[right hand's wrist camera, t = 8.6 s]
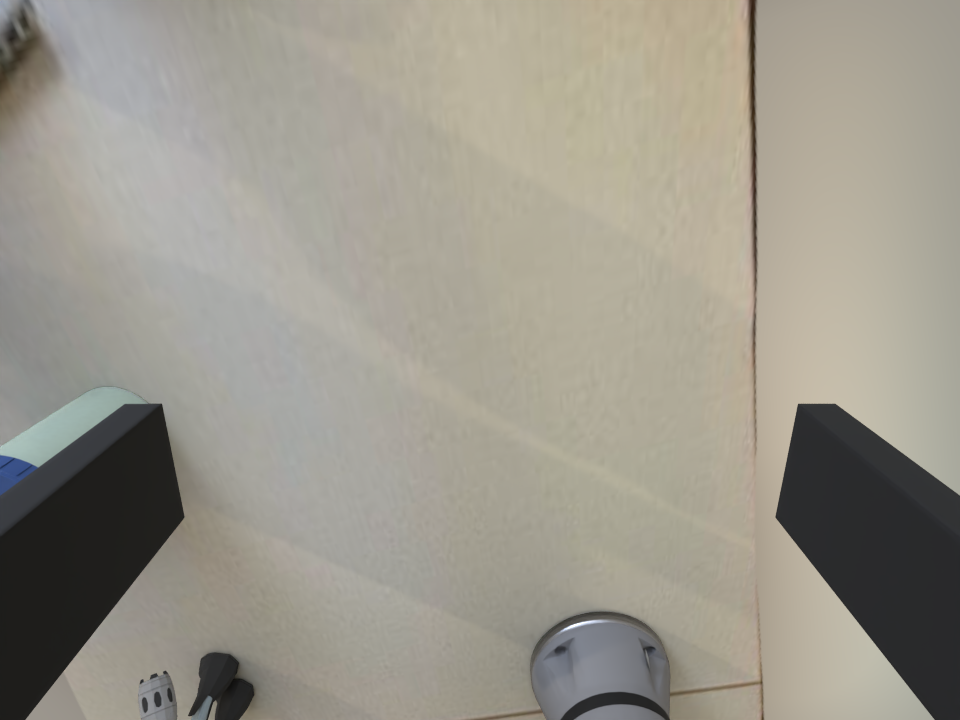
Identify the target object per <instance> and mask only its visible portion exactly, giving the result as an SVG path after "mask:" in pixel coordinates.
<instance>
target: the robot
mask: <svg viewBox="0 0 960 720" xmlns="http://www.w3.org/2000/svg"><path fill="white" fill-rule="evenodd" d="M238 664H239V663H238V662H237V661H236V660H235V659H234V658H233V657H232V656H231V655H228V654H221V653H210V654H207V655H206V656H204V657H203V658H202V659H201V662H200V668H199V676H200V678H201V679H200V683H199V688H198V693H197V697H196V700H195V702H194V704H193V706H192V708H191V710H190V713H189V715H188V716H192V715H193V716H192V719H191V720H208V717H209V714H210V711H211V708H212V704H213V702H214V701H215V700H216V701H217V707H216V713H215V720H239V719H240V718H241V716H242V715H243V714H244V712H245V711H246V709H247V708H248V706H249V704H250V702H251V700H252V698H253V696H254V691H253V686H252V685H251V684H249V683H247V682H245V681H243V680H241V679H239V680H233V679H234V676H235V674H236V673H237V669H238ZM163 673H164V675H161V676H158V675H157V673H156V674H153V675H151V678H150V680H148V681H146V682H144V681H143V679H142V680H141V681H140V685H139V693H138V701H139V708H140V715H141V719H142V720H177V716H178V715H177V702H176V697H175V691H174V687H173V684H172V680H171V678H170V676H169V674H168V673H167V672H166V671H164V672H163Z"/></svg>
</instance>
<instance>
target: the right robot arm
mask: <svg viewBox="0 0 960 720" xmlns="http://www.w3.org/2000/svg"><path fill="white" fill-rule="evenodd" d="M183 519H184V512H183V507H182V502H181V497H180V492H179V487H178V482H177V477H176V472H175V467H174V462H173V457H172V452H171V447H170V442H169V437H168V432H167V427H166V422H165V417H164V412H163V407H162V404H124V405H123V406H121V407H120V408H118V409H117V410H116V411H114V412H113V413H112V414H110V415H109V416H108V417H106V418H105V419H104V420H102V421H101V422H99V423H98V424H97V425H95V426H94V427H93V428H91V429H90V430H89V431H87V432H86V433H85V434H83V435H82V436H80V437H79V438H78V439H76V440H75V441H74V442H72V443H71V444H70V445H68V446H67V447H66V448H64V449H63V450H61V451H60V452H59V453H57V454H56V455H55V456H53V457H52V458H51V459H49V460H48V461H47V462H45V463H44V464H42V465H41V466H40V467H38V468H37V469H36V470H34V471H33V472H32V473H30V474H29V475H28V476H26V477H25V478H23V479H22V480H21V481H19V482H18V483H17V484H15V485H14V486H13V487H11V488H10V489H9V490H7V491H6V492H4V493H3V494H2V495H0V720H25V719H26V718H27V717H28V716H29V714H30V713H31V712H32V710H33V709H34V708H35V707H36V705H37V704H38V703H39V702H40V700H41V699H42V698H43V696H44V695H45V694H46V693H47V691H48V690H49V689H50V688H51V686H52V685H53V684H54V682H55V681H56V680H57V679H58V677H59V676H60V675H61V674H62V672H63V671H64V670H65V669H66V667H67V666H68V665H69V663H70V662H71V661H72V660H73V658H74V657H75V656H76V655H77V653H78V652H79V651H80V649H81V648H82V647H83V646H84V644H85V643H86V642H87V641H88V639H89V638H90V637H91V636H92V634H93V633H94V632H95V630H96V629H97V628H98V627H99V625H100V624H101V623H102V622H103V620H104V619H105V618H106V616H107V615H108V614H109V613H110V611H111V610H112V609H113V608H114V606H115V605H116V604H117V602H118V601H119V600H120V599H121V597H122V596H123V595H124V594H125V592H126V591H127V590H128V589H129V587H130V586H131V585H132V583H133V582H134V581H135V580H136V578H137V577H138V576H139V575H140V573H141V572H142V571H143V569H144V568H145V567H146V566H147V564H148V563H149V562H150V561H151V559H152V558H153V557H154V555H155V554H156V553H157V552H158V550H159V549H160V548H161V547H162V545H163V544H164V543H165V542H166V540H167V539H168V538H169V536H170V535H171V534H172V533H173V531H174V530H175V529H176V528H177V526H178V525H179V524H180V522H181V521H182V520H183ZM776 519H777V520H778V521H779V522H780V524H781V525H782V526H783V528H784V529H785V530H786V531H787V533H788V534H789V535H790V536H791V538H792V539H793V540H794V541H795V543H796V544H797V545H798V547H799V548H800V549H801V550H802V552H803V553H804V554H805V555H806V557H807V558H808V559H809V561H810V562H811V563H812V564H813V566H814V567H815V568H816V569H817V571H818V572H819V573H820V575H821V576H822V577H823V578H824V580H825V581H826V582H827V583H828V585H829V586H830V587H831V589H832V590H833V591H834V592H835V594H836V595H837V596H838V597H839V599H840V600H841V601H842V602H843V604H844V605H845V606H846V608H847V609H848V610H849V611H850V613H851V614H852V615H853V616H854V618H855V619H856V620H857V622H858V623H859V624H860V625H861V627H862V628H863V629H864V630H865V632H866V633H867V634H868V636H869V637H870V638H871V639H872V641H873V642H874V643H875V644H876V646H877V647H878V648H879V649H880V651H881V652H882V653H883V655H884V656H885V657H886V658H887V660H888V661H889V662H890V663H891V665H892V666H893V667H894V669H895V670H896V671H897V672H898V674H899V675H900V676H901V677H902V679H903V680H904V681H905V683H906V684H907V685H908V686H909V688H910V689H911V690H912V691H913V693H914V694H915V695H916V696H917V698H918V699H919V700H920V702H921V703H922V704H923V705H924V707H925V708H926V709H927V710H928V712H929V713H930V714H931V716H932V717H933V718H934V719H935V720H960V496H959V495H958V494H957V493H956V492H954V491H953V490H951V489H950V488H949V487H947V486H946V485H945V484H943V483H942V482H941V481H939V480H938V479H936V478H935V477H934V476H932V475H931V474H930V473H928V472H927V471H926V470H924V469H923V468H922V467H920V466H919V465H918V464H916V463H915V462H913V461H912V460H911V459H909V458H908V457H907V456H905V455H904V454H903V453H901V452H900V451H899V450H897V449H896V448H894V447H893V446H892V445H890V444H889V443H888V442H886V441H885V440H884V439H882V438H881V437H879V436H878V435H877V434H875V433H874V432H873V431H871V430H870V429H869V428H867V427H866V426H865V425H863V424H862V423H861V422H859V421H858V420H856V419H855V418H854V417H852V416H851V415H850V414H848V413H847V412H846V411H844V410H843V409H842V408H840V407H839V406H837V405H836V404H798V407H797V412H796V417H795V422H794V427H793V432H792V437H791V442H790V447H789V452H788V457H787V462H786V467H785V472H784V477H783V482H782V487H781V492H780V497H779V502H778V507H777V512H776ZM530 671H531V682H532V687H533V691H534V694H535V697H536V699H537V701H538V703H539V705H540V707H541V709H542V711H543V713H544V716H545V718H546V720H670V718H669V708H670V669H669V662H668V658H667V655H666V653H665V650H664V647H663V645H662V643H661V641H660V639H659V637H658V636H657V635H656V633H655V632H654V631H653V630H652V629H651V628H650V627H648V626H647V625H646V624H644V623H643V622H641V621H639V620H637V619H635V618H633V617H630V616H627V615H623V614H619V613H612V612H593V613H586V614H581V615H578V616H574V617H572V618H569V619H567V620H565V621H563V622H561V623H559V624H557V625H556V626H554V627H553V628H552V629H550V630H549V631H548V632H547V633H546V634H545V635H544V636H543V637H542V638H541V639H540V641H539V642H538V644H537V645H536V647H535V649H534V651H533V654H532V658H531V664H530Z"/></svg>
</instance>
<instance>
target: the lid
mask: <svg viewBox="0 0 960 720" xmlns="http://www.w3.org/2000/svg"><path fill="white" fill-rule="evenodd" d="M37 468H38V467H37V466H35V465H33V464H31V463H28V462H26V461H23V460H21V459H17V458H14V457H9V456H3V455H0V495H2V494H3V493H4V492H6V491H7V490H9V489H10V488H11V487H13V486H14V485H15V484H17V483H18V482H19V481H21V480H22V479H23V478H25V477H26V476H28V475H29V474H30V473H32V472H33V471H34V470H36V469H37Z"/></svg>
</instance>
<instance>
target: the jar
mask: <svg viewBox="0 0 960 720" xmlns="http://www.w3.org/2000/svg"><path fill="white" fill-rule="evenodd" d="M124 404H148V403H147V402H146V401H145V400H144V399H142V398H141V397H139V396H138V395H136V394H134V393H132V392H130V391H127V390H124V389H121V388H116V387H100V388H95V389H92V390H90V391H88V392H86V393H84V394H83V395H81V396H79V397H78V398H76V399H75V400H73V401H72V402H70V403H68V404H67V405H65V406H64V407H62V408H60V409H59V410H57V411H56V412H54V413H53V414H51V415H49V416H48V417H46V418H45V419H43V420H42V421H40V422H38V423H37V424H35V425H34V426H32V427H31V428H29V429H27V430H26V431H24V432H23V433H21V434H20V435H18V436H16V437H15V438H13V439H12V440H10V441H9V442H7V443H5V444H4V445H2V446H1V447H0V455H3V456H9V457H14V458H17V459H21V460H23V461H26V462H28V463H31V464H33V465H35V466H37V467H40V466H41V465H42V464H44V463H45V462H47V461H48V460H49V459H51V458H52V457H53V456H55V455H56V454H57V453H59V452H60V451H61V450H63V449H64V448H66V447H67V446H68V445H70V444H71V443H72V442H74V441H75V440H76V439H78V438H79V437H80V436H82V435H83V434H85V433H86V432H87V431H89V430H90V429H91V428H93V427H94V426H95V425H97V424H98V423H99V422H101V421H102V420H104V419H105V418H106V417H108V416H109V415H110V414H112V413H113V412H114V411H116V410H117V409H118V408H120V407H121V406H123V405H124Z"/></svg>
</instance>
